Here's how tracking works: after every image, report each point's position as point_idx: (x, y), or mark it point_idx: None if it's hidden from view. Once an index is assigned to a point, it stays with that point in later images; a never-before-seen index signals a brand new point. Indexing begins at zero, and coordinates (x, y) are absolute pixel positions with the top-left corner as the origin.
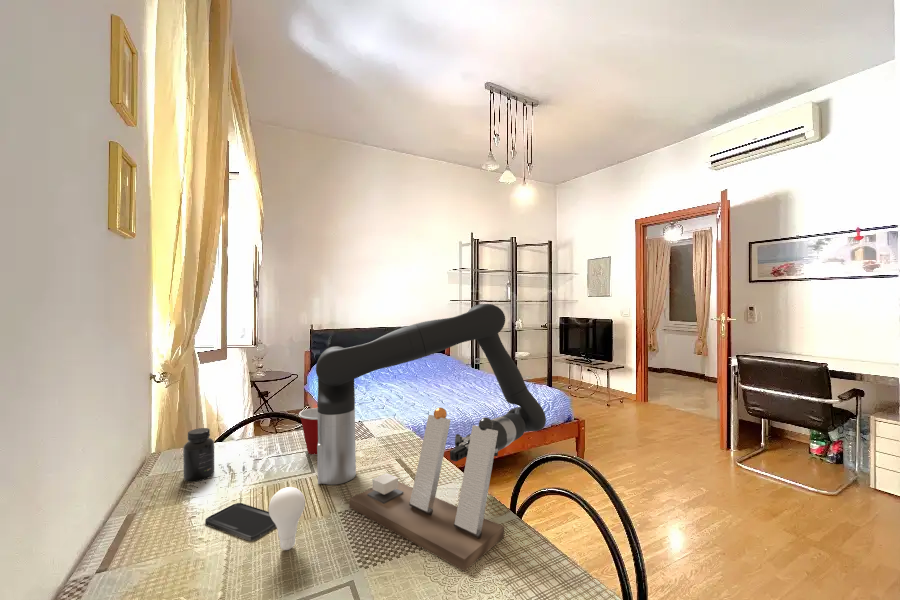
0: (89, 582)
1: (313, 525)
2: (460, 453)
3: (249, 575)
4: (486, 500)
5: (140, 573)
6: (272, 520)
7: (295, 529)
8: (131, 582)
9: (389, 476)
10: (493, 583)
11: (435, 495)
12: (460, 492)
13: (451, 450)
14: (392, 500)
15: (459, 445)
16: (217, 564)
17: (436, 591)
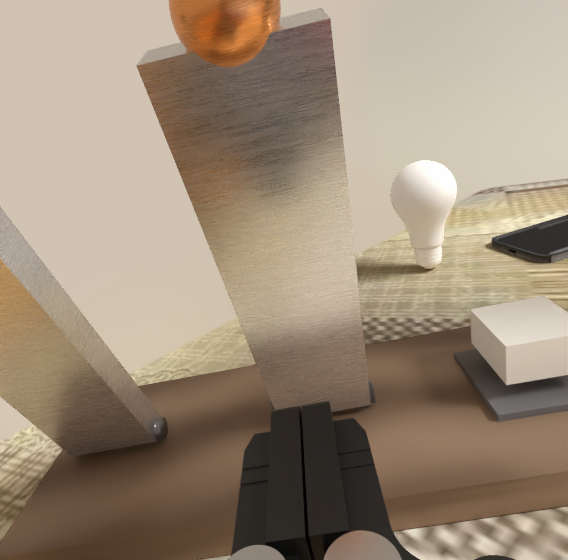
0: (488, 193)
1: (493, 288)
2: (244, 453)
3: (396, 250)
4: (10, 404)
5: (479, 205)
6: (545, 249)
7: (414, 238)
8: (464, 205)
9: (540, 330)
10: (39, 433)
11: (267, 390)
12: (115, 358)
13: (322, 402)
14: (462, 379)
15: (373, 538)
16: (448, 233)
17: (145, 366)
